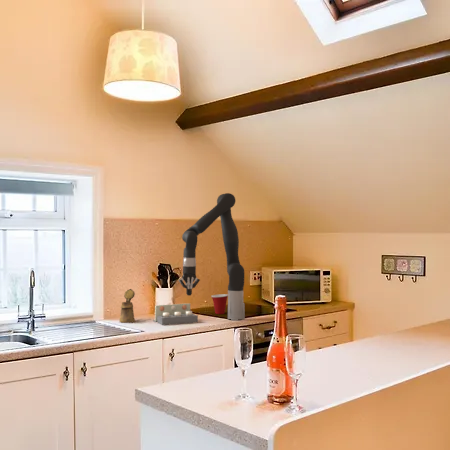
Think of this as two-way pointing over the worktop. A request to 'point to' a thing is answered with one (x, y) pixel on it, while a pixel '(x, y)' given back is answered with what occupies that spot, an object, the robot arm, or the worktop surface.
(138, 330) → the worktop surface
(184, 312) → the pattern card
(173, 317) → the button board
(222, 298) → the plastic cup
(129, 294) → the brown tapered piece
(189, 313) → the button
